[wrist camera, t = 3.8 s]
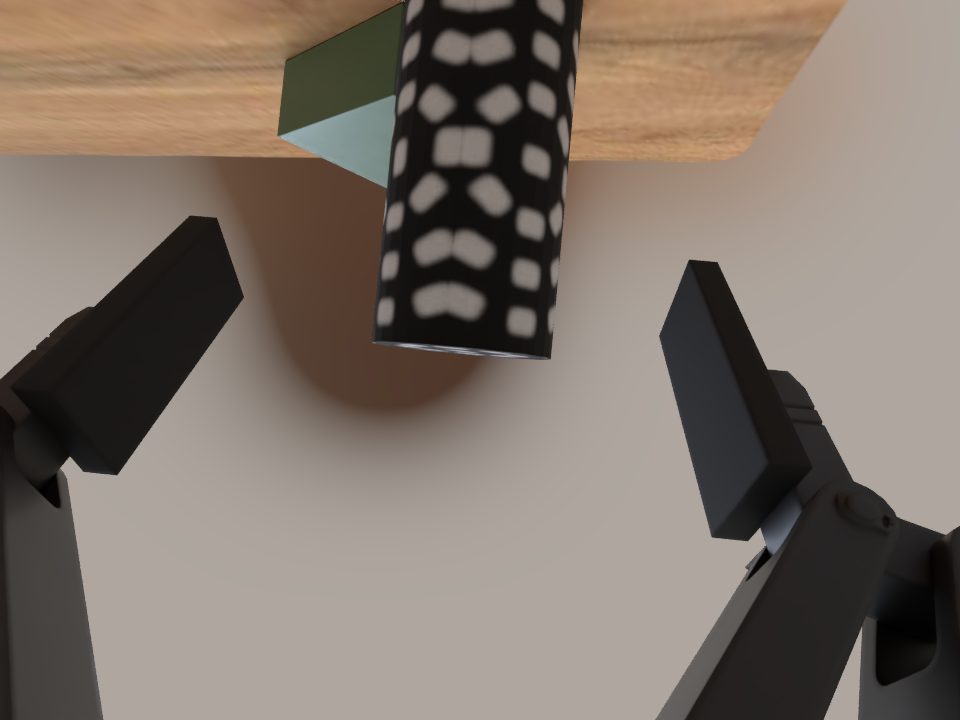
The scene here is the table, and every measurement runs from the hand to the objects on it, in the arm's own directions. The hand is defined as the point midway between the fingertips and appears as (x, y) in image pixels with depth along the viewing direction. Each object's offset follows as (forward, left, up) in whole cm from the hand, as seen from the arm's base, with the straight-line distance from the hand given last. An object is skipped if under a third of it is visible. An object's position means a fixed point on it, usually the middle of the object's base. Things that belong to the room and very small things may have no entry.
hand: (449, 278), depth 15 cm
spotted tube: (-4, -8, -18) cm, 21 cm away
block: (-16, -17, -18) cm, 30 cm away
